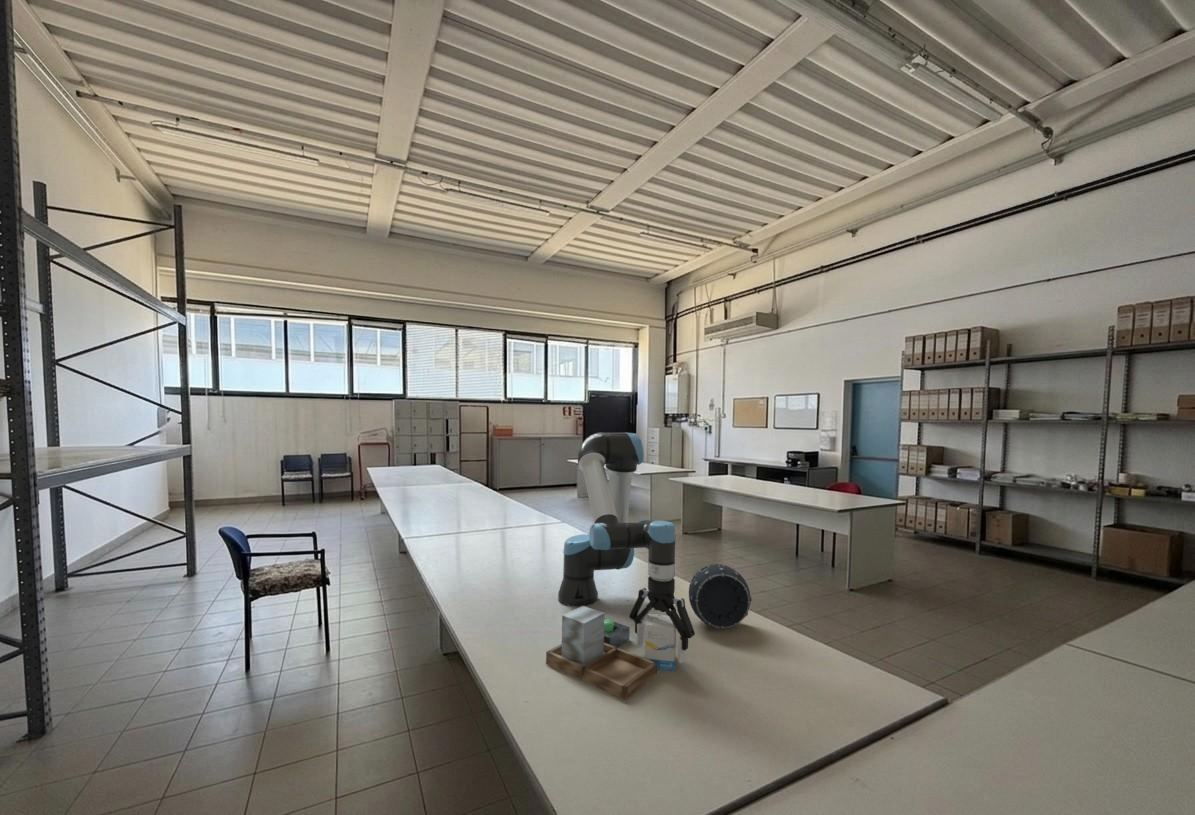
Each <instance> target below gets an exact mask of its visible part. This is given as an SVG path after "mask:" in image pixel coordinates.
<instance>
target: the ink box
mask: <svg viewBox="0 0 1195 815" xmlns="http://www.w3.org/2000/svg"><path fill="white" fill-rule="evenodd" d="M676 637H677V629H676V627H675V626H674V624H673V622H672V620H671V619H670V617H669V616H668V615H667V614H660V613H659V614H658V613H655V614H654V613H648V614H647V615H646V619H645V622H644V657H643V658H645V659H648V660H650V661H653V662H655V663H658V664H657V670H664V671H675V666H676V648H677V646H676V644H677V643H676V642H677V641H676V639H677V638H676Z"/></svg>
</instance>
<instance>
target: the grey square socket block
mask: <svg viewBox="0 0 1195 815" xmlns="http://www.w3.org/2000/svg"><path fill="white" fill-rule="evenodd" d="M604 619H606V618H605V617H604ZM612 621H613V622H614V630H613V631H611V632H609V633H608V632H605V631H604V643H607V644H609V645H612V646H615V647H617V648H619V647H622V645H624V644H626V643H627V642H629V641H630V632H631V631H630V630H631V628H630V626H628V625H625V624H622V623H620V622H617V621H614V620H612Z"/></svg>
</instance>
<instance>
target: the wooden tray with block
mask: <svg viewBox="0 0 1195 815" xmlns="http://www.w3.org/2000/svg"><path fill="white" fill-rule="evenodd" d="M561 616H562V618H561V644H558V645H557V646H554V647H553V648H551V649H549V650H547V651H546V654H545V663H546V664H548V665H550V666H552V667H554V668H556V669H558V670H561V671H562V672H565V673H567V674H569V675H571V676H573V677H575V678H578V679H580V680H581V681H583V682H586V683H588V684H590V685H591V686H595V687H596V688H599V689H601V690H603V691H606V692H608V693H609V694H611V695H613V696H616V697H618V698H620V699H623V700H624V701H626V700H627V699H628V698H630V697H631V696H632V695H634V694H635V693H637V691H639V690H640V689H641V688H643V687H644V686H645V685H646V684H648V682H650V681H651V680H653V679H654V678H655V677H657V675H658V669H657V664H658V663H655V662H653V661H650V660H648V659H645V658H644V657H642V656H639V655H637V654H635V653H632V652H630V651H627V650H625V649H622V648H619V647H618V648H617V647H615V646H612V645H609V644H607V643H604V618H605V613H604V612H602V611H600V610H597V609H593V608H590V607H587V606H578V607H577V608H575V609H572V610H570V611H568V612H567V613H564V614H562V615H561Z"/></svg>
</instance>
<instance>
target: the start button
mask: <svg viewBox="0 0 1195 815" xmlns="http://www.w3.org/2000/svg"><path fill="white" fill-rule="evenodd" d="M613 621H614V620H612V619H608V618H605V619H604V631H605V632H608V633H609V632H611V631H613V630H614V622H615V621H614V622H613Z"/></svg>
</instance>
